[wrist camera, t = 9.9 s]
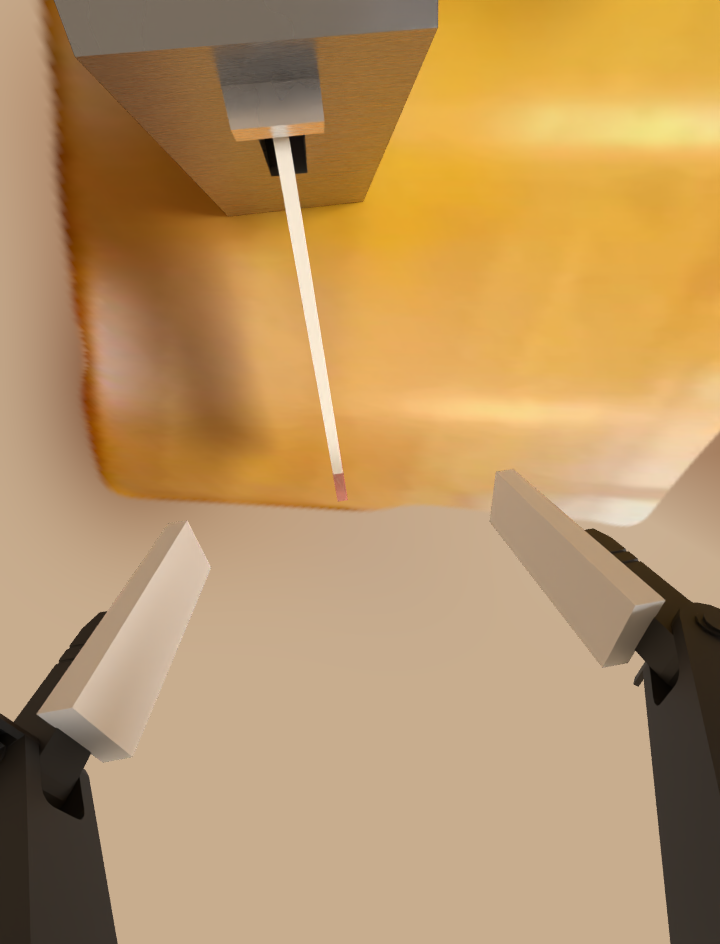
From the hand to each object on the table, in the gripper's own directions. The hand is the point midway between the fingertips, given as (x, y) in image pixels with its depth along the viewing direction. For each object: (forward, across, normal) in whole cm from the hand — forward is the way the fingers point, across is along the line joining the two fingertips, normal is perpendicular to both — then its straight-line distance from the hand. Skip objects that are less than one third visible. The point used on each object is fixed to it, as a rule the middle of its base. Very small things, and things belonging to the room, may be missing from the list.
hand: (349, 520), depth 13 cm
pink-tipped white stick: (+12, 0, +6) cm, 13 cm away
